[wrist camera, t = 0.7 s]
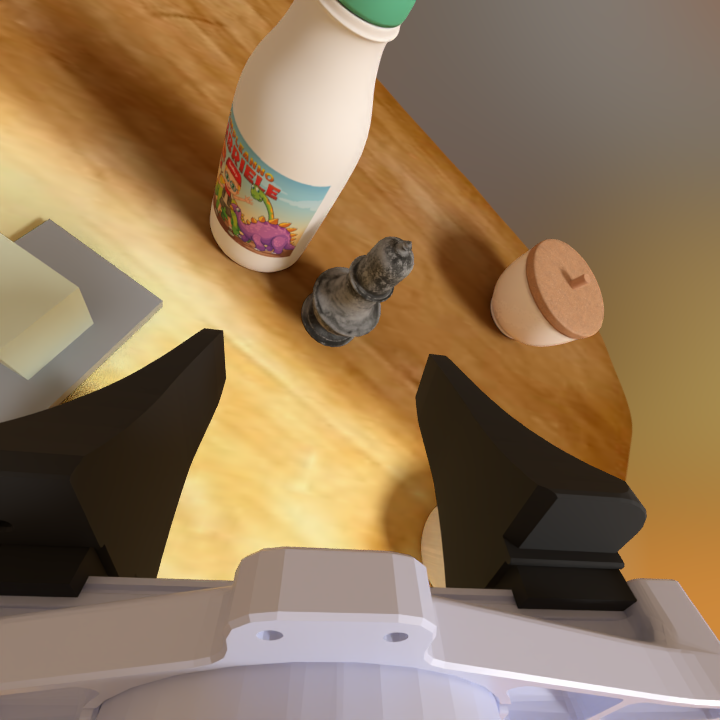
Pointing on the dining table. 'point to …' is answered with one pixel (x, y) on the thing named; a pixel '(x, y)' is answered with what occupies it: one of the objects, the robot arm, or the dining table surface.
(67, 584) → the robot arm
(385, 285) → the grey chess piece
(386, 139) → the dining table surface
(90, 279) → the plate
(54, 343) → the sage block
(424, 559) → the ramekin
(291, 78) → the milk bottle
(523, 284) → the lidded jar
